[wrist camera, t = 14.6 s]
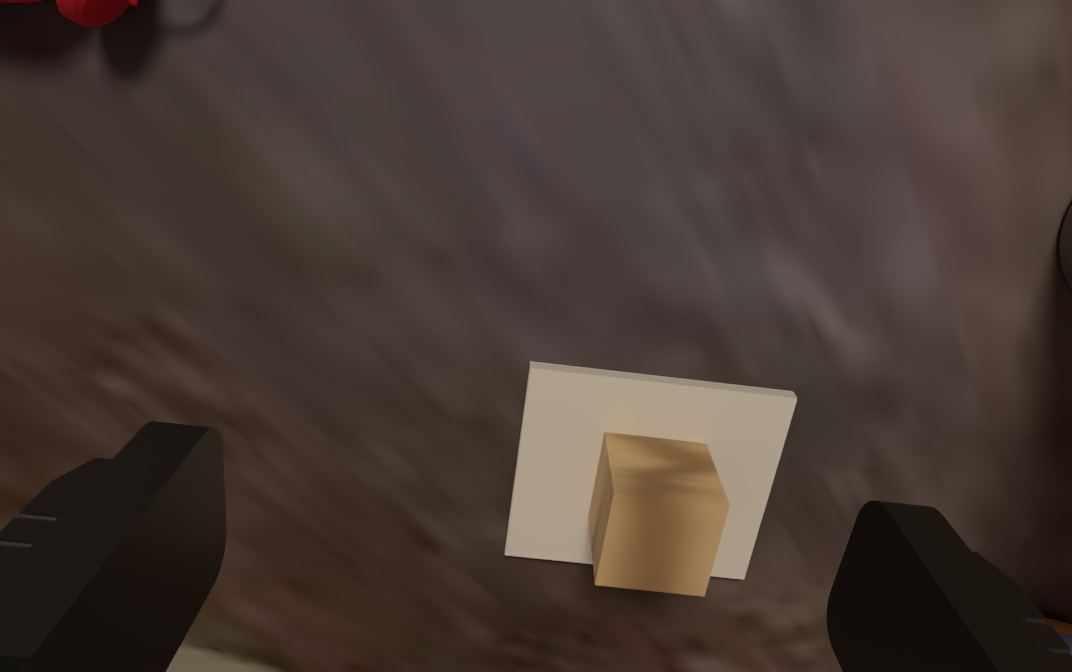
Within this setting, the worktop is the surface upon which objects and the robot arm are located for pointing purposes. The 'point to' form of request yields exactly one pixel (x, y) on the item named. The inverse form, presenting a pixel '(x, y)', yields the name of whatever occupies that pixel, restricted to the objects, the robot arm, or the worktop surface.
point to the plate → (644, 410)
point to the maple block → (655, 514)
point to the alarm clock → (88, 10)
